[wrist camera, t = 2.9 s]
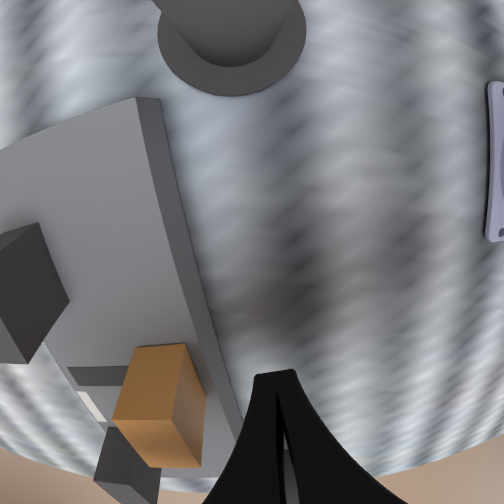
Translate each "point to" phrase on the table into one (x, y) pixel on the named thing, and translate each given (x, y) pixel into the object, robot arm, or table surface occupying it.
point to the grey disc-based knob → (230, 42)
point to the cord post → (290, 478)
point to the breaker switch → (162, 407)
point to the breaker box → (108, 276)
